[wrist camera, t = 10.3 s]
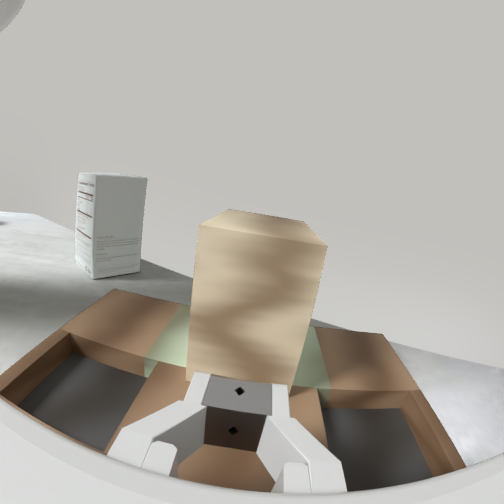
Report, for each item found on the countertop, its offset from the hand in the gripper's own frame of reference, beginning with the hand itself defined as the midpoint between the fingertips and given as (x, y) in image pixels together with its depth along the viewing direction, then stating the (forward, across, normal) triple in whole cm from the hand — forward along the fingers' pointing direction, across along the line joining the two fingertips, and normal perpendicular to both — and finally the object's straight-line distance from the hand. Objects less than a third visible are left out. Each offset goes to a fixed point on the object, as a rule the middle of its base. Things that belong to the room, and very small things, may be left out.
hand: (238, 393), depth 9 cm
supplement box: (+26, +20, +7) cm, 33 cm away
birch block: (+11, 0, +5) cm, 12 cm away
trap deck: (+4, 0, +7) cm, 8 cm away
